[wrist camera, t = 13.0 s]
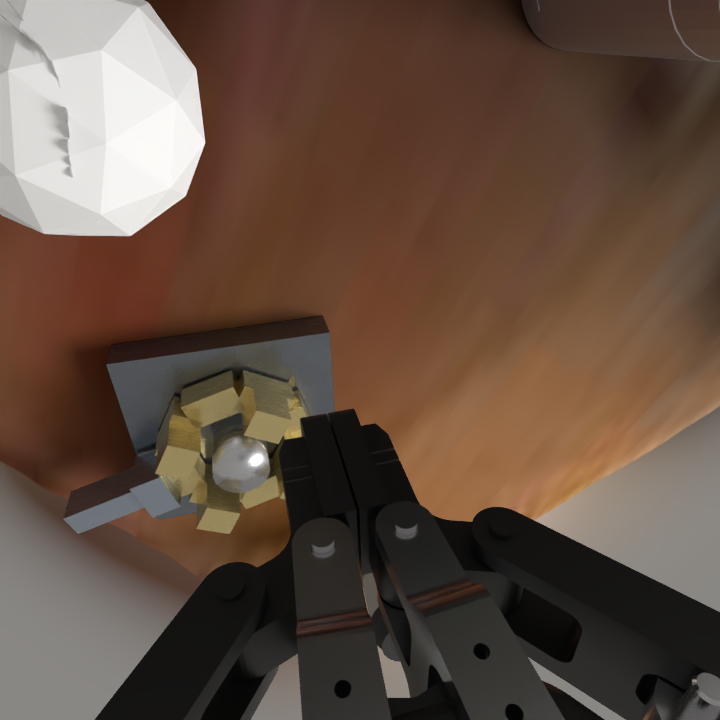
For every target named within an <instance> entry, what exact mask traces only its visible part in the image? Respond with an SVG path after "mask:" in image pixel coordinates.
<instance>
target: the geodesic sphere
mask: <svg viewBox="0 0 720 720" xmlns="http://www.w3.org/2000/svg"><path fill="white" fill-rule="evenodd" d="M204 145H205V137H204V129H203V121H202V113H201V105H200V96H199V88H198V80H197V72H196V68H195V67H194V65H193V64H192V62H191V61H190V60H189V58H188V57H187V55H186V54H185V53H184V51H183V50H182V49H181V47H180V46H179V44H178V43H177V42H176V40H175V39H174V37H173V36H172V35H171V33H170V32H169V30H168V29H167V28H166V26H165V25H164V23H163V22H162V21H161V19H160V18H159V16H158V15H157V14H156V12H155V11H154V10H153V8H152V7H151V5H150V4H149V3H148V2H146V1H144V0H0V214H1V215H2V216H4V217H7V218H9V219H11V220H13V221H16V222H18V223H20V224H23V225H25V226H27V227H30V228H32V229H34V230H37V231H39V232H41V233H44V234H58V235H75V236H131V235H133V234H134V233H135V232H137V231H138V230H140V229H141V228H142V227H144V226H145V225H146V224H148V223H149V222H151V221H152V220H153V219H155V218H156V217H157V216H159V215H160V214H161V213H163V212H164V211H166V210H167V209H168V208H170V207H171V206H172V205H174V204H175V203H177V202H178V201H179V200H181V199H182V198H183V197H185V196H186V194H187V191H188V188H189V186H190V183H191V180H192V177H193V175H194V172H195V169H196V167H197V164H198V161H199V158H200V156H201V153H202V150H203V147H204Z"/></svg>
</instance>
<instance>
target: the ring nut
mask: <svg viewBox="0 0 720 720" xmlns="http://www.w3.org/2000/svg"><path fill="white" fill-rule="evenodd" d="M239 412H240V413H242V423H243V433H244V436H247V437H252V438H256V439H260V440H264V441H268V442H272V443H276V444H279V442H280V440H281V439H282V437H283V436H284V437H283V439H282V441H281V442H280V444H279V446H278V448H277V450H276V452H275V453H274V455H273V457H272V458H270V459H269V465H270V473H269V476H268V478H267V480H266V481H265V482H264V483H263V484H262V485H261V486H259V487H258V488H256V489H254V490H251V491H248V492H243V493H233V492H228V491H226V490H223V489H222V488H220V487H219V486H218V485H217V484H216V483H215V481H214V479H213V465H211V464H206V463H204V461H203V460H202V458H201V457H200V455H199V454H200V435H201V427H204V426H206V425H209V424H211V423H214V422H216V421H219V420H221V419H224V418H227V417H229V416H232V415H234V414H237V413H239ZM308 416H310V415H309V413H308V411H307V409H306V406H305V404H304V402H303V400H302V398H301V396H300V393H299V391H298V390H296V391H294V392H293V391H292V387H291V384H289V383H286V382H282V381H279V380H276V379H272V378H269V377H266V376H262V375H259V374H256V373H252V372H249V371H246V370H243V371H242V373H241V375H240V377H239V379H238V381H237V379H236V377H235V375H234V373H233V371H232V370H231V371H228V372H226V373H223V374H221V375H218V376H216V377H213V378H210V379H208V380H205V381H203V382H200V383H197V384H195V385H192V386H190V387H187V388H185V389H182V394H181V398H179V397H175V396H174V398H173V400H172V402H171V405H170V407H169V409H168V412H167V414H166V416H165V419H164V421H163V424H162V426H161V428H160V431H159V433H158V435H157V441H156V450H154V451H152V452H149V453H147V454H144V455H142V456H139V457H137V458H135V459H134V465H133V467H132V468H130V469H127V470H125V471H122V472H120V473H117V474H114V475H112V476H109V477H107V478H104V479H102V480H99V481H97V482H94V483H91V484H89V485H86V486H84V487H81V488H79V489H76V490H74V491H71V494H70V497H69V501H68V504H67V508H66V511H65V515H64V518H63V519H64V520H65V521H66V522H67V523H68V524H69V525H70V526H71V527H72V528H73V529H74V530H75V531H76V532H77V533H78V534H79V533H82V532H84V531H87V530H89V529H92V528H94V527H96V526H99V525H102V524H104V523H107V522H109V521H112V520H114V519H117V518H119V517H122V516H125V515H127V514H130V513H132V512H135V511H137V510H140V509H142V508H145V509H146V510H147V511H148V513H149V514H150V515H151V516H152V517H156V516H158V515H161V514H163V513H166V512H168V511H171V510H173V509H176V508H178V507H181V497H183V496H185V495H188V494H189V502H192V503H197V527H196V529H201V530H207V531H214V532H220V533H226V534H230V532H231V531H232V529H233V527H234V525H235V523H236V521H237V520H238V518H239V516H240V514H241V512H240V502H242V504H243V505H244V507H245V508H246V509H248V508H250V507H253V506H255V505H258V504H260V503H263V502H265V501H268V500H270V499H273V498H275V497H278V496H279V497H280V498H281V499H285V495H284V488H283V481H282V474H281V467H280V461H279V452H280V449H281V447H282V444H283V442H284V440H286V439H292V438H297V437H302V435H301V426H300V418H303V417H308Z"/></svg>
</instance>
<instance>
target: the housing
mask: <svg viewBox="0 0 720 720" xmlns="http://www.w3.org/2000/svg"><path fill="white" fill-rule="evenodd" d="M106 365H107V368H108V371H109V374H110V377H111V380H112V383H113V386H114V389H115V392H116V395H117V398H118V401H119V404H120V407H121V410H122V413H123V416H124V419H125V422H126V425H127V428H128V431H129V434H130V437H131V440H132V443H133V446H134V449H135V452H136V455H137V457H139V456H142V455H144V454H147V453H149V452H152V451H154V450H156V441H157V435H158V433H159V431H160V428H161V426H162V424H163V421H164V419H165V416H166V414H167V412H168V409H169V407H170V405H171V402H172V400H173V398H174V396H175V397H179V398H181V394H182V389H185V388H187V387H190V386H192V385H195V384H197V383H200V382H203V381H205V380H208V379H210V378H213V377H216V376H218V375H221V374H223V373H226V372H228V371H231V370H232V371H233V373H234V375H235V377H236V379H237V381H238V379H239V377H240V375H241V373H242V371H243V370H246V371H249V372H252V373H256V374H259V375H262V376H266V377H269V378H272V379H276V380H279V381H282V382H286V383H289V384H291V387H292V391H293V392H294V391H296V390H298V391H299V393H300V396H301V398H302V400H303V402H304V404H305V406H306V409H307V411H308V413H309V415H310V416H314V415H320V414H328V413H331V412H335V408H334V393H333V377H332V362H331V347H330V332H329V330H328V327H327V325H326V323H325V320H324V318H323V316H318V317H311V318H304V319H296V320H289V321H282V322H274V323H267V324H260V325H252V326H245V327H238V328H230V329H223V330H216V331H209V332H201V333H194V334H187V335H179V336H172V337H165V338H157V339H150V340H143V341H135V342H128V343H121V344H113V345H112V346H111V350H110V353H109V357H108V360H107V363H106ZM283 437H284V436H283ZM283 437H282V439H283ZM282 439H281V440H280V442H281V441H282ZM280 442H279V444H280ZM279 444H276V443H272V442H268V441H264V440H260V439H256V438H252V437H247V436H244V433H243V423H242V413H240V412H239V413H237V414H234V415H232V416H229V417H227V418H224V419H221V420H219V421H216V422H214V423H211V424H209V425H206V426H204V427H201V435H200V454H199V455H200V457H201V458H202V460H203V461H204V463H206V464H211V465H213V479H214V481H215V483H216V484H217V485H218V486H219V487H220V488H222V489H223V490H226V491H228V492H233V493H243V492H248V491H251V490H254V489H256V488H258V487H259V486H261V485H262V484H263V483H264V482H265V481H266V480H267V478H268V476H269V473H270V465H269V459H270V458H272V457H273V455H274V453H275V452H276V450H277V448H278V446H279ZM240 504H242V502H240ZM196 512H197V503H192V502H189V494H188V495H185V496H183V497H181V507H178V508H176V509H173V510H171V511H168V512H166V513H163V514H161V515H158V516H157V518H158V520H161V519H166V518H171V517H176V516H181V515H186V514H191V513H196Z"/></svg>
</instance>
